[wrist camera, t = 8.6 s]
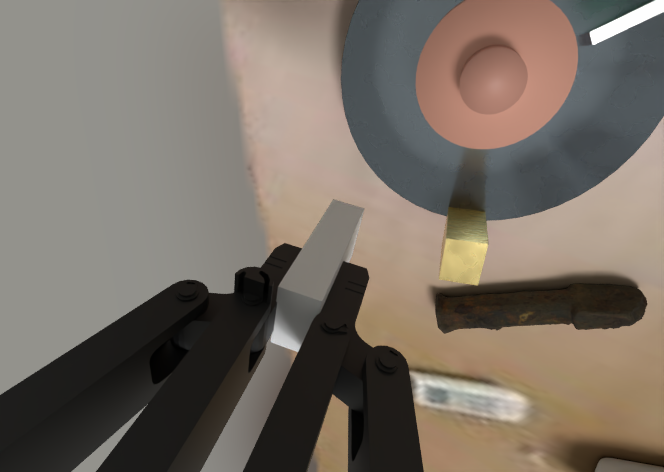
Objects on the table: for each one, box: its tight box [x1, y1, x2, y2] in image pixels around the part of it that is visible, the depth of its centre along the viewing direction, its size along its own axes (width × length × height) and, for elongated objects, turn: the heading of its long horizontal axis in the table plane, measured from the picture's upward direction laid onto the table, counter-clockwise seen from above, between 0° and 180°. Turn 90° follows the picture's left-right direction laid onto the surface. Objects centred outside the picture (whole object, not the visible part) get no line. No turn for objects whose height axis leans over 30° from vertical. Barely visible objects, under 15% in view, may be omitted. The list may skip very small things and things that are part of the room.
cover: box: [416, 0, 578, 149], centre depth 24 cm, size 9×9×6 cm
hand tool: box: [435, 284, 647, 333], centre depth 38 cm, size 19×4×5 cm, turn 108°
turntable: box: [341, 0, 664, 286], centre depth 26 cm, size 24×22×7 cm
